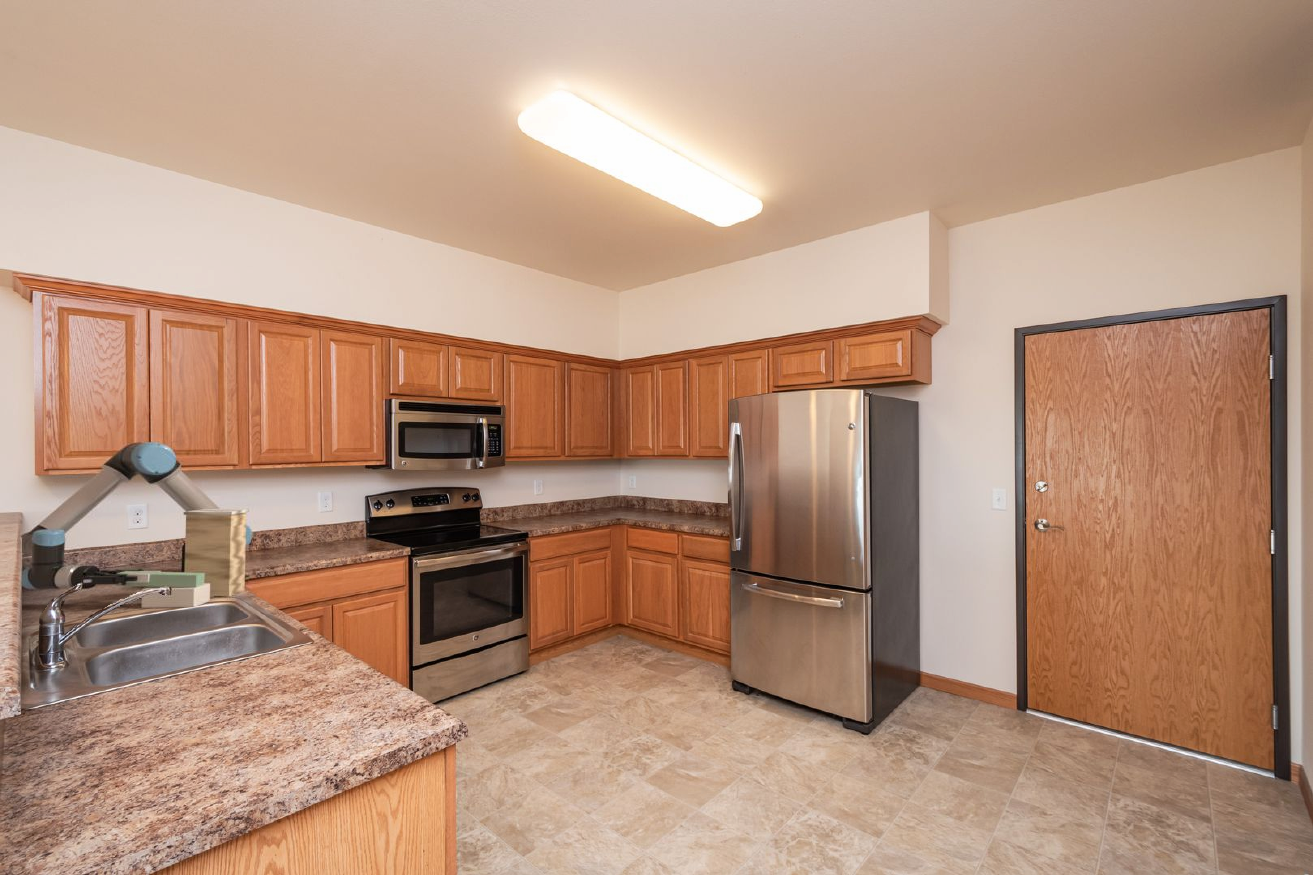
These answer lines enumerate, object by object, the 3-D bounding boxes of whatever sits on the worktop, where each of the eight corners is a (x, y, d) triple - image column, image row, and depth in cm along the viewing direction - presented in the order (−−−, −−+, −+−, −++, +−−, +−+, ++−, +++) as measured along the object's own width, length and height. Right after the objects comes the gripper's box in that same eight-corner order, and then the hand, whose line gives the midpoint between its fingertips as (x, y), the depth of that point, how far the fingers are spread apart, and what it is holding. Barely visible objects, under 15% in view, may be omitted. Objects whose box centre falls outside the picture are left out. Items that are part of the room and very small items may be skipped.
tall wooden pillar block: (200, 591, 217) (202, 509, 218) (246, 590, 218) (248, 509, 219) (181, 597, 207) (183, 511, 208) (229, 597, 208) (231, 511, 209)
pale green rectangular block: (125, 582, 199) (126, 570, 199) (204, 584, 201) (204, 572, 201) (115, 585, 195) (116, 573, 195) (195, 587, 197) (196, 575, 197)
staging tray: (159, 601, 202) (160, 583, 202) (209, 600, 203) (210, 583, 203) (141, 607, 194) (142, 589, 194) (193, 606, 195) (193, 588, 195)
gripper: (100, 582, 204) (172, 582, 206) (54, 594, 187) (133, 593, 189) (101, 561, 205) (173, 560, 207) (55, 570, 188) (134, 570, 190)
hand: (154, 576), depth 198 cm, fingers closed on pale green rectangular block, 4 cm apart
